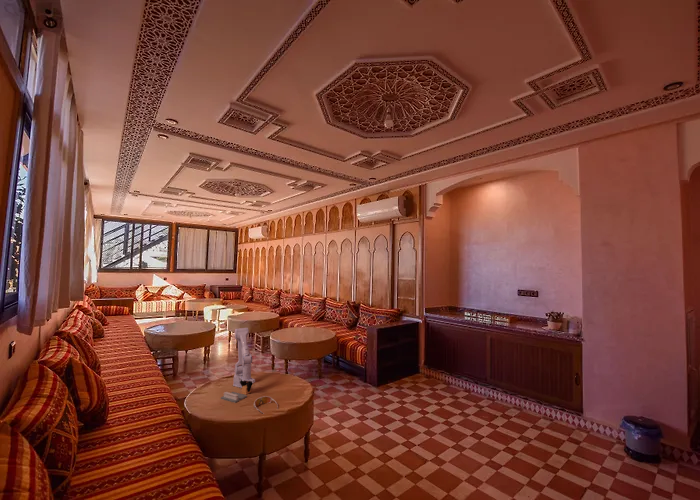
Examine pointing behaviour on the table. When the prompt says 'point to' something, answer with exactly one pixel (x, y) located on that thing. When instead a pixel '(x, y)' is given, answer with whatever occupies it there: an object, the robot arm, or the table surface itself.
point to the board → (233, 396)
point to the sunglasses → (263, 401)
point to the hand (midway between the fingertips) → (246, 390)
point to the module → (245, 390)
